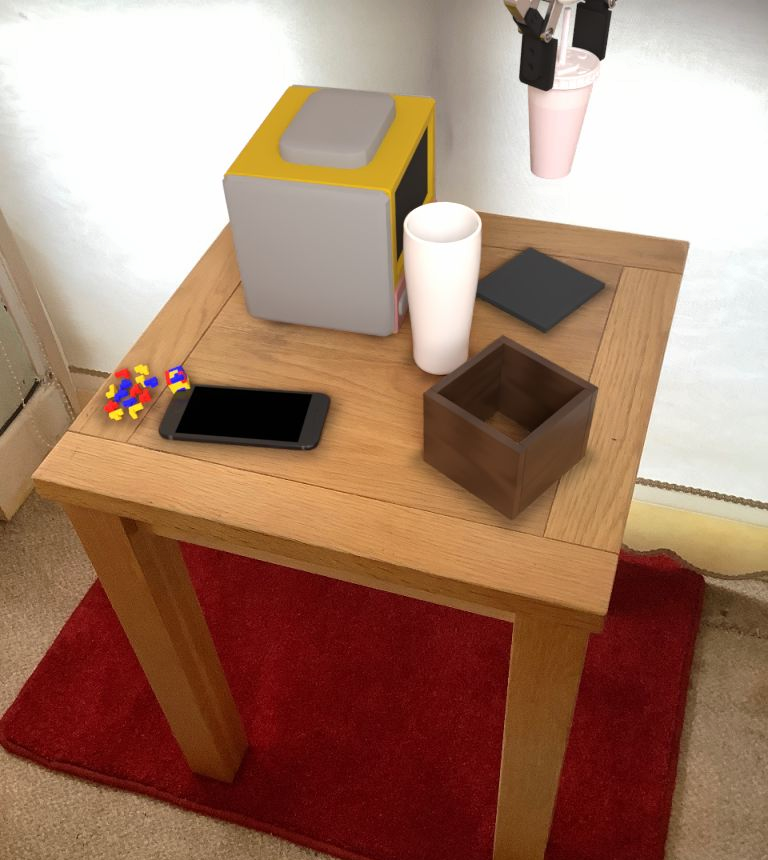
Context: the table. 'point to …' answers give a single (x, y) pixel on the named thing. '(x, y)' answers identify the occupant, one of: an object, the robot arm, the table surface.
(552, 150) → the smoothie
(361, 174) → the alarm clock
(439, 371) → the drinking glass
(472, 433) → the holder
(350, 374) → the table surface
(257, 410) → the smartphone
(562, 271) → the mat
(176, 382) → the building blocks
